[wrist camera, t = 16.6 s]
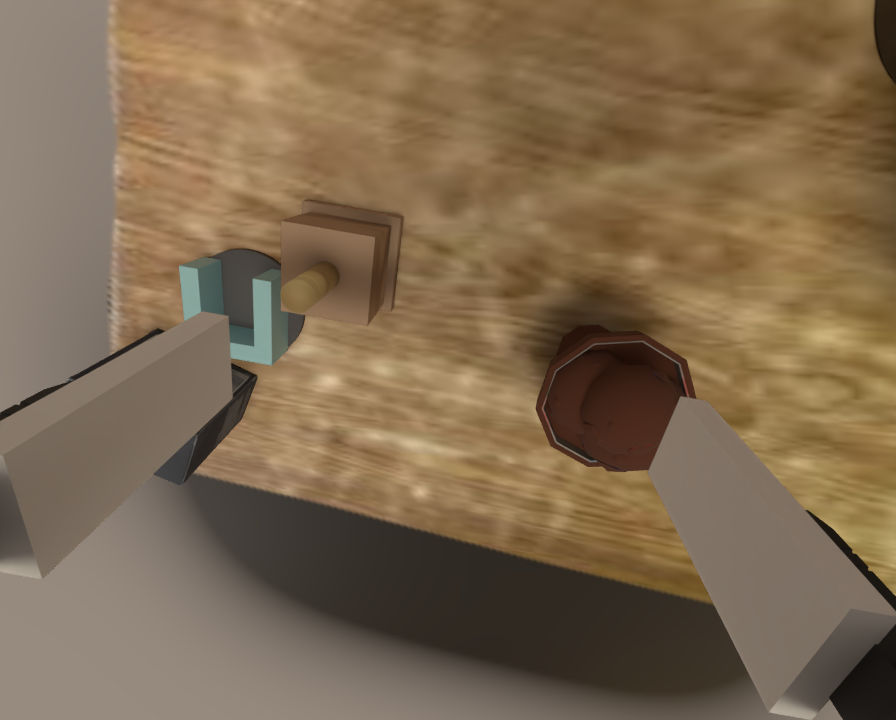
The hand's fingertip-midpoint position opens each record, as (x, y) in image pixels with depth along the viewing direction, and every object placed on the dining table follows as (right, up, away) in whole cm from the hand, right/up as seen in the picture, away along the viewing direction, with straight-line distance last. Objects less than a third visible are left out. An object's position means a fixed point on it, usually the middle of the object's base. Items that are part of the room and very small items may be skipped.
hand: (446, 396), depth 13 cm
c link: (-18, +6, +28) cm, 34 cm away
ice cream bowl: (+13, +2, +28) cm, 31 cm away
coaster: (-18, +6, +28) cm, 34 cm away
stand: (-8, +10, +26) cm, 29 cm away
